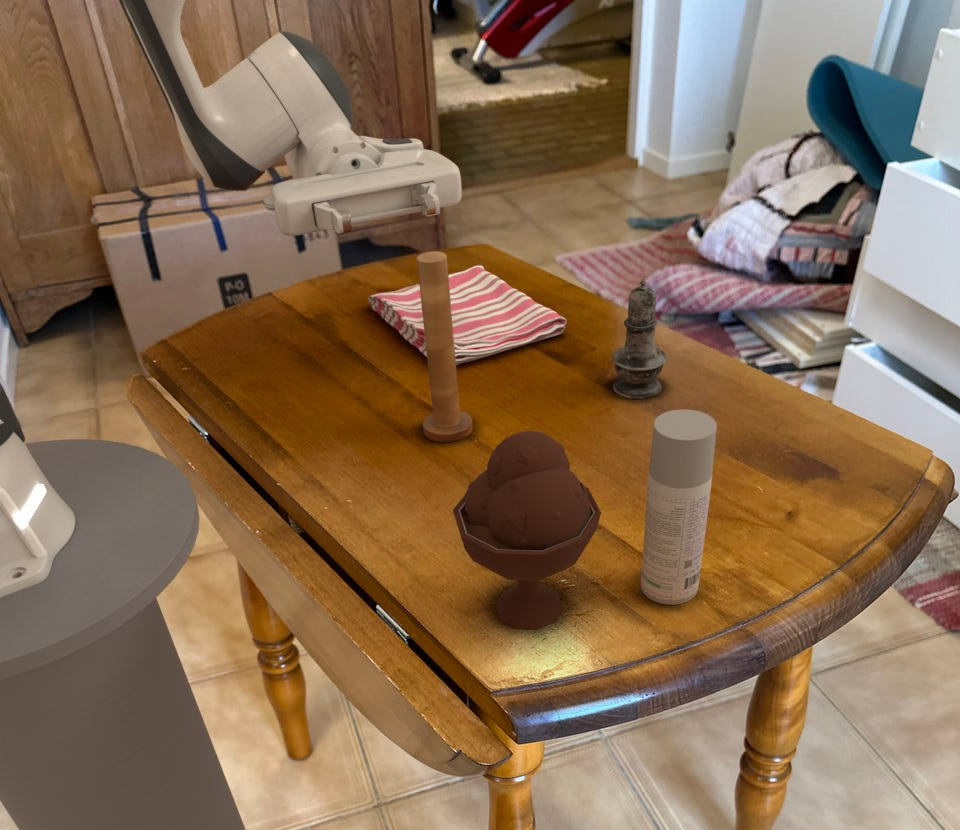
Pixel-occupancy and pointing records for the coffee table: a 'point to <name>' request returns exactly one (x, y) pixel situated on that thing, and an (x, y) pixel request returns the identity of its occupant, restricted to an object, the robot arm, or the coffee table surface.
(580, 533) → the ice cream bowl
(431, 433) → the stirring stick
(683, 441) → the container
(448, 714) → the coffee table surface
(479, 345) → the dish towel
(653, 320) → the salt shaker
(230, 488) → the coffee table surface
